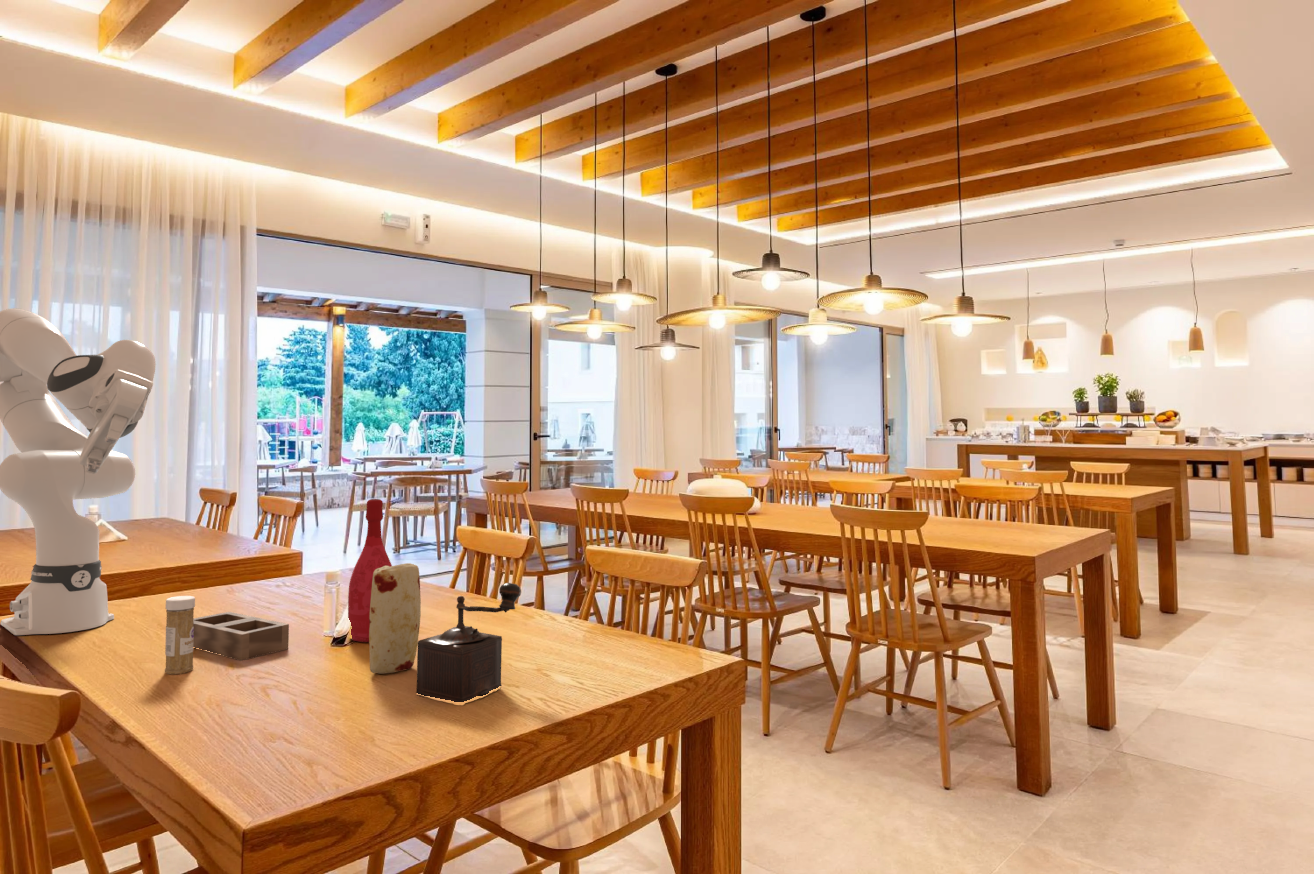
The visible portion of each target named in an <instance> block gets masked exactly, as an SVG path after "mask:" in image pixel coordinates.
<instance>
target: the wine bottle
mask: <svg viewBox="0 0 1314 874" xmlns="http://www.w3.org/2000/svg"><path fill="white" fill-rule="evenodd" d="M383 505H384V502H383V500H382V499H380V498H371V499H368V500H367V501H366V509H365V510H366V511H365V513H366V514H365V520H366V521H367V532H366V537H365V541H364V546H363V547H362V548H363V549H362V550H361V553H360V554H359V557H358V559H357V561H356V563H355V565H354V567H353V570H352V573H351V576H350V580H349V583H348V595H347V596H348V598H347V617H348V618H349V620H350V622H351V626H352V629H351V635H352V639H353V640H352V639H351V640H352V641H354V642H358V643H369V628H370V623H369V618H370V603H371V591H372V581H373V573H374V571H375V570H376V569H378V568H381V567H383V566H389V567H391V566H393V564H392V562H391V559H390V558H389V555H388V553H387V551H386V549H385V546H384V542H383V537H382V536H383V535H382V520H383V519H384V513H383V510H384V509H383ZM348 618H347V619H348Z"/></svg>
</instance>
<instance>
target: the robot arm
mask: <svg viewBox="0 0 1314 874" xmlns="http://www.w3.org/2000/svg"><path fill="white" fill-rule="evenodd" d="M155 372H156V357H155V356H154V353H153V352H152V351H151V350H150V349H149V348H148V347H147V346H145V344H142V343H140V341H139V342H138V341H136V340H131V339H122V340H117V341H115V342H114V343H113V344H111V345H110V347H108V348H107V349H106V350H104V351H102V352H100V353H97V354H80V355H77V354H76V353H75V351H74V349H73V347H72V346H71V345H70V343H69V341H68V340H67V339H66V337H65V336H64V334H63V333H62V332H61V331H60V329H58V328H57V327H56V326H55V325H54V324H52V323H51V322H50V321H49V320H47V318H44V317H43V316H40V315H39V314H37V313H34V312H33V311H29V310H26V309H22V308H15V307H11V308H6V309H3V310H1V311H0V382H1V383H0V421H1V423H2V425H3V427H4V428H5V430H6V432H7V433H8V435H9V437H10V438H11V440H12V441H13V443H14V445H15V447H16V448H17V450H18V451H19V452H18V453H13V454H9V455H8V456H7V457H5V458H4V459H3V461H2V462H1V463H0V491H1V493H3V494H4V495H5V497H7V498H8V499H11V501H14V502H15V503H17V504H18V505H20V507H21V508H22V509H23V510H24V511H25V513H27V515H28V516H29V518H30V520H31V522H32V523H31V524H32V526H33V528H34V533H35V535H34V537H35V556H36V557H35V564H34V565H32V570H31V573H30V580H31V582H30V583H29V584H28V586H26V587H25V588H24V589H23V590H22V591H21V592H20V593H19V594H18V595H17V596H16V597H15V600H11V601H10V602H9V610H10V612H13V613H14V615H13V616H10V617H8V618H7V617H5V618H3V619H1V620H0V625H1V626H2V627H4V629H6V630H7V631H8V632H10V633H11V634H13V635H14V636H25V635H26V636H27V635H29V636H30V635H48V634H49V635H51V634H62V633H72V632H78V631H85V630H90V629H94V628H97V627H101V626H103V625H105V624H106V623H107V622H109V621H111V620H114V619H115V614H114V613H111V612H110V613H109V603H108V600H109V599H108V588H107V587H108V586H107V584H106V583H105V582H104V581H102V580H101V575H102V568H103V567H102V561H101V560H100V529H99V526H98V525H97V524H96V522H94V521H93V520H92V519H90V518H88V517H86V516H83V515H80V514H79V513H77V511H76V510H75V506H74V501H73V500H88V499H90V500H91V499H103V498H108V497H112V496H116V495H120V494H124V493H126V492H127V491H129V489H130V488H131V487H132V485H133V483H134V481H135V479H136V470H135V469H136V468H135V466H134V465H135V464H134V463H133V461H132V460H131V459H130V458H129V456H128V455H126V454H125V453H122V452H119V451H116V450H113V449H114V447H115V445H116V444H117V442H118V440H119V439H120V438H123V437H125V436H128V435H129V434H130V433H132V432H133V431H134V430H135V428H136V427H137V425H138V423H139V421H140V420H141V419H142V417H144V412H145V410H146V405H147V402H148V398H149V396H150V393H151V391H152V389H153V385H154V383H153V382H154V378H155V374H156V373H155ZM54 397H55V398H54ZM57 400H58V401H59V402H60V403H61V404H62V405H63V406H64V408H65V409H67V410H68V411H69V412H70V413H71V414H72V415H73V416H74V418H75V419H76V420H78V421H79V422H80V423H81V424H82V425H83V426H84V427H85V428H86V430H87V431H88V432H89V434H88V435H86V434H84V433H83V432H82V431H80V430H79V429H78V428H76V426H75V425H74V424H73V423H72V422H71V420H70V419H69V418H68V416H67V415H66V414H65V411H63V409H62V407H61V405H60V404H59V403H58V402H57Z"/></svg>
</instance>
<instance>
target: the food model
mask: <svg viewBox="0 0 1314 874" xmlns="http://www.w3.org/2000/svg"><path fill="white" fill-rule="evenodd" d="M421 597H422V596H421V578H420V568H419V566H418V565H416V564H414V563H411V562H407V563H400V564H396V565H392V566H391V567H389V566H383V567H381V568H378V569H376V570H375V571H374V573H373V581H372V591H371V603H370V618H369V623H370V628H369V642H368V644H369V669H370V672H371V673H373V674H375V673H377V674H378V675H379V674H390V673H397V672H402V671H407V670H410V669H412V668H413V666H414V664H415V661H416V657H417V656H416V655H417V652H418V641H419V636H420V626H421V612H422V611H421V607H422V606H421V604H422V601H421V599H422V598H421Z"/></svg>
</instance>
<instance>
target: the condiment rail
mask: <svg viewBox="0 0 1314 874" xmlns="http://www.w3.org/2000/svg"><path fill="white" fill-rule="evenodd" d="M193 619H194V620H193V627H194V639H193V647H195V648H199V649H202V650H207V651H210V652H213V653H212V654H214V653H217V654H221V655H224V656H223V657H225V656H227V657H226V658H229V657H232V658H231V659H233V658H235V660H237V659H238V660H239V661H245V660H250V659H253V657H254V658H257V657H261V656H265V655H269V654H274V653H278V652H281V651H285V650H289V641H290V640H289V637H290V635H289V634H290V633H289V632H290V629H289V627H290V626H289V625H290V624H289V623H285V622H279V621H277V620H276V621H275V620H271V619H267V618H261V617H255V616H252V615H246V614H243V613H237V612H232V611H225V612H220V613H216V614H215V613H214V614H210V615H205V616H200V617H193ZM202 650H201V651H202ZM210 652H209V653H210ZM217 654H216V655H217ZM221 655H220V656H221ZM249 658H250V659H249Z"/></svg>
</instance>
